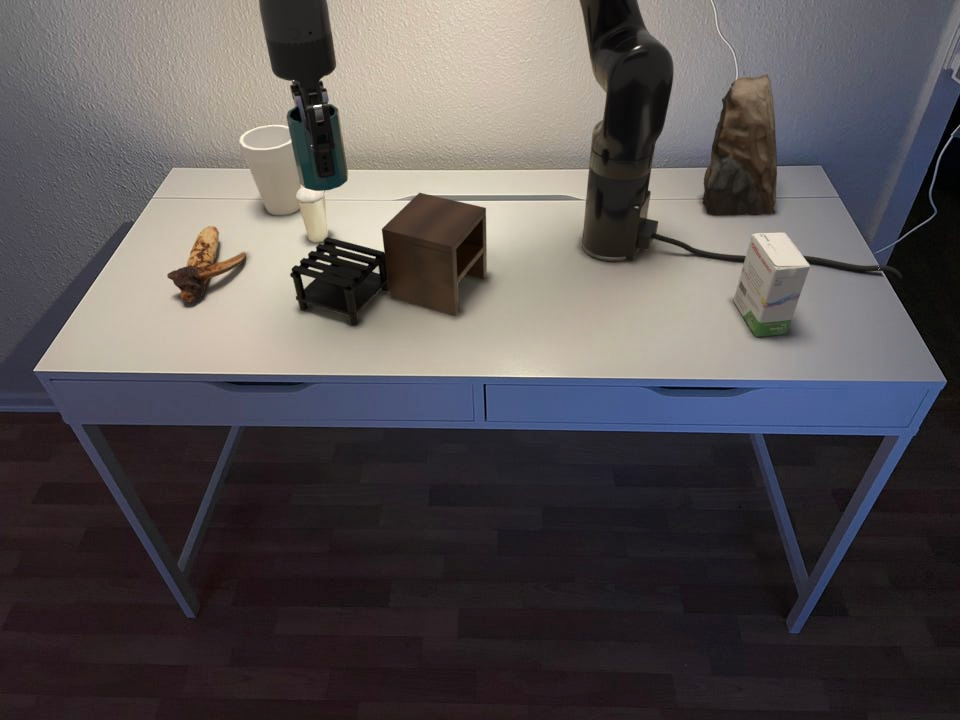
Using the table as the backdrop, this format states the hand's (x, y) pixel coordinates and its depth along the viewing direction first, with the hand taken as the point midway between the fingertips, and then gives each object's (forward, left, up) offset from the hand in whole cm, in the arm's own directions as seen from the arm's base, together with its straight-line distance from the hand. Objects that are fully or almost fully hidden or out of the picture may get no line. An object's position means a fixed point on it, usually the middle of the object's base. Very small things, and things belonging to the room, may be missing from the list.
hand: (321, 163), depth 93 cm
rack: (0, 0, -22) cm, 22 cm away
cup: (0, 0, -2) cm, 2 cm away
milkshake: (+13, -12, -22) cm, 29 cm away
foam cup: (+25, -18, -22) cm, 38 cm away
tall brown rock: (-48, -51, -22) cm, 74 cm away
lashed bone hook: (+23, +3, -22) cm, 32 cm away
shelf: (-12, -8, -22) cm, 26 cm away
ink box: (-57, -20, -22) cm, 64 cm away
